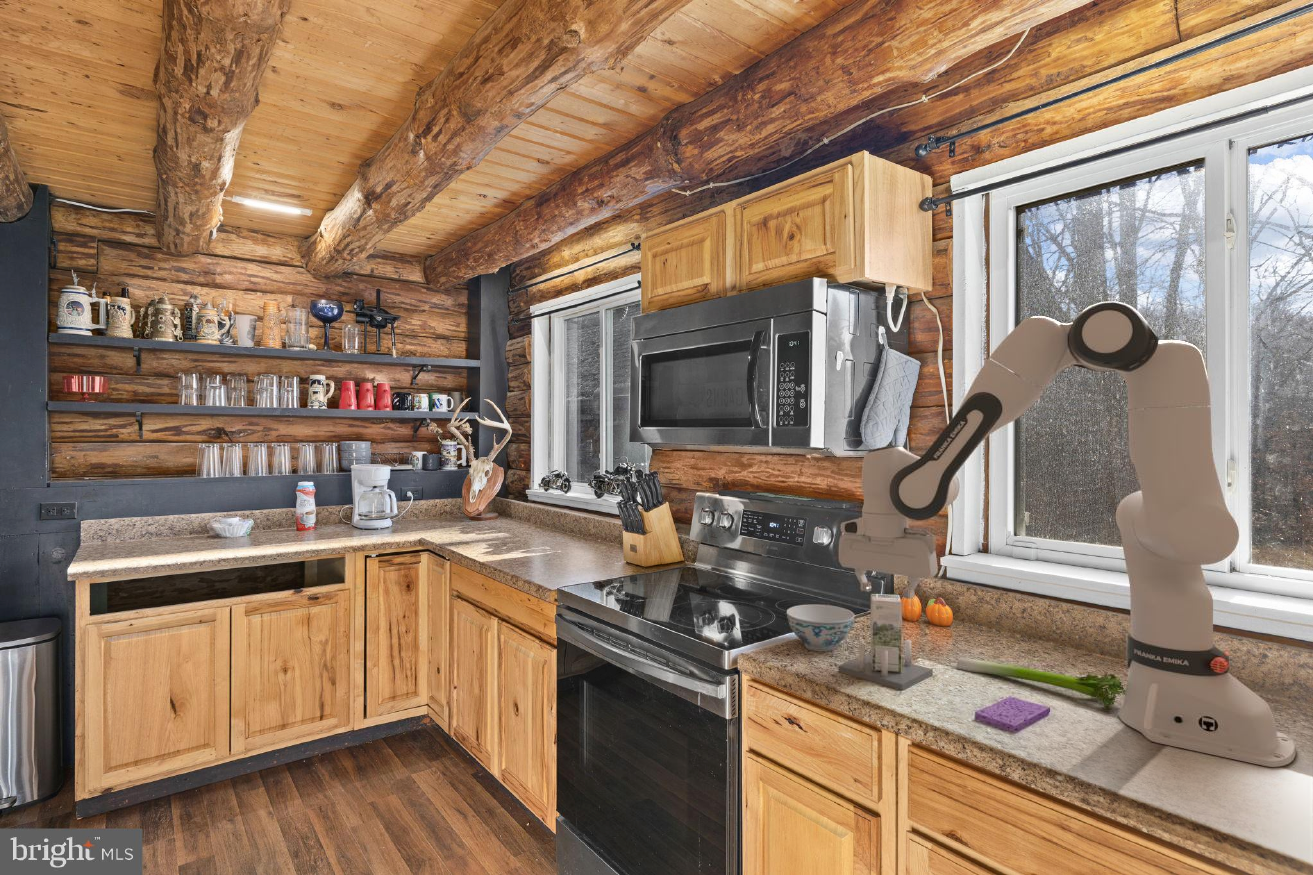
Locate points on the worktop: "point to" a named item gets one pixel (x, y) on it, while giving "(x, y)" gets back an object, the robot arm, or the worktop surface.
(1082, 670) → the worktop surface
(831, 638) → the chinaware
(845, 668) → the pin tray
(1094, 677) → the leek
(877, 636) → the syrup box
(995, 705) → the sponges
